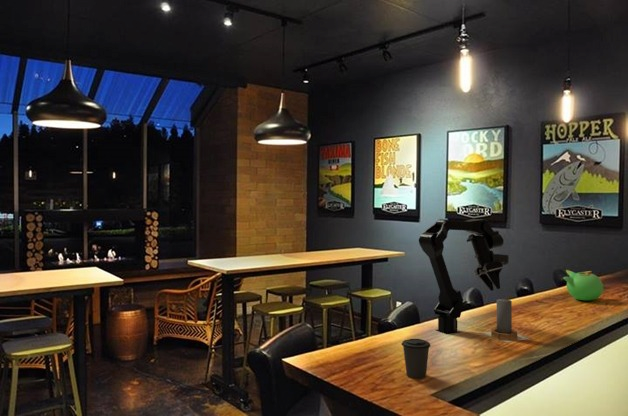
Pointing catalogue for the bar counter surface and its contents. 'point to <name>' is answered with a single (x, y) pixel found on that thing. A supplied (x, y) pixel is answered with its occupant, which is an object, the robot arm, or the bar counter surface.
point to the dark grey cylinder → (504, 316)
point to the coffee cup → (416, 357)
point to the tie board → (520, 337)
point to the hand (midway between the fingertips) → (495, 289)
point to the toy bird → (584, 285)
